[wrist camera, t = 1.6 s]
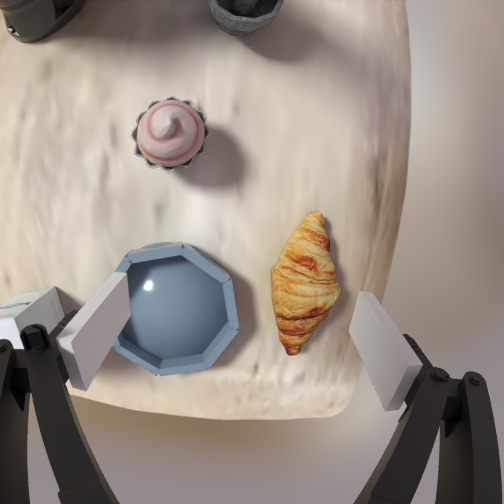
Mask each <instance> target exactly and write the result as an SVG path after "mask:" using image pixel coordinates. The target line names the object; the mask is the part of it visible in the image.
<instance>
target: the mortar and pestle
mask: <svg viewBox="0 0 504 504" xmlns="http://www.w3.org/2000/svg"><path fill="white" fill-rule="evenodd" d="M283 2H284V1H283V0H208V5H209V8H210V11H211V14H212V17H213V19H214V20H216V21H217V22H218V25H219V28H221V29H222V30H224V31H225V32H227V33H228V34H230V35H240V36H244V35H246V34H249V33H251V32H254V31H255V30H256V29H259V28H261V27H264V26H266V25H269V24H270V23H271V22H272V21H273V20H274V19H275V17H276V15H277V13H278V11H279V9H280V7H281V6H282V4H283Z"/></svg>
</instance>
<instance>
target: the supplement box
mask: <svg viewBox="0 0 504 504" xmlns="http://www.w3.org/2000/svg"><path fill="white" fill-rule="evenodd" d="M64 317H65V315H64V312H63V309H62V306H61V302H60V299H59V296H58V293H57V290H56V287H55V286H54V287H50V288H46V289H42V290H37V291H31V292H25V293H20V294H19V295H17V296H16V297H14V298H13V299H11V300H10V301H8V302H7V303H5V304H4V305H2V306H1V307H0V339H8V340H9V341H11V343H12V345H13V347H14V349H24V347H23V344H22V342H21V339H20V336H19V335H20V332H21V330H22V329H23V328H25V327H26V326H28V325H31V324H42V325H43V326H45V328H46V329H47V333H48V335H49V334H50V332H51V331H52V330H53V329H54V328H55V327H56V326H57V324H58V323H59V322H60V321H61V320H62V319H63V318H64Z"/></svg>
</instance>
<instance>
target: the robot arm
mask: <svg viewBox="0 0 504 504" xmlns="http://www.w3.org/2000/svg"><path fill="white" fill-rule="evenodd" d="M85 1H86V0H0V9H1V10H2V12H3V16H4V19H5V23H6V27H7V30H8V32H9V33H10V34H11V35H12V36H13V37H14V38H15V39H16V40H18V41H20V42H33V41H37V40H40V39H42V38H45V37H47V36H49V35H51V34H52V33H54V32H56V31H57V30H59V29H60V28H61V27H63V26H64V25H65V24H66V23H68V22H69V21H70V20H71V19H72V18H73V17H74V16H75V15H76V14H77V13H78V11H79V10H80V9H81V7H82V6H83V4H84V3H85ZM130 316H131V310H130V301H129V291H128V281H127V273H122V272H114V273H113V274H112V275H111V276H110V277H109V278H108V279H107V281H106V282H105V283H104V284H103V285H102V286H101V287H100V288H99V289H98V290H97V291H96V293H95V294H94V295H93V296H92V297H91V298H90V299H89V300H88V301H87V303H86V304H85V305H84V306H83V307H82V308H81V309H80V310H79V311H77V310H73V311H72V312H70V313H68V314H66V316H65V317H64V318H63V319H62V320H61V321H60V322H59V323H58V324H57V326H56V327H55V328H54V329H53V330H52V331H51V332H50V334H49V335H48V333H47V329H46V328H45V326H43V325H42V324H31V325H28V326H26V327H25V328H23V329H22V330H21V332H20V335H19V336H20V339H21V342H22V344H23V347H24V349H14V347H13V345H12V343H11V341H9V340H8V339H0V504H30V499H29V487H28V470H27V433H28V412H29V400H30V393H32V398H33V403H34V407H35V412H36V416H37V420H38V424H39V428H40V432H41V435H42V439H43V442H44V446H45V449H46V452H47V455H48V458H49V461H50V464H51V467H52V470H53V473H54V476H55V478H56V481H57V483H58V486H59V489H60V491H59V492H58V497H59V499H60V502H61V504H120V503H119V502H118V500H117V498H116V497H115V495H114V493H113V491H112V490H111V488H110V486H109V484H108V482H107V481H106V479H105V477H104V475H103V473H102V471H101V469H100V467H99V465H98V463H97V461H96V459H95V457H94V455H93V453H92V450H91V448H90V446H89V444H88V442H87V439H86V437H85V435H84V432H83V430H82V428H81V425H80V423H79V420H78V417H77V415H76V412H75V410H74V407H73V404H72V401H71V398H70V396H69V393H68V390H67V387H66V384H65V383H66V382H67V380H68V379H69V380H70V382H71V385H72V387H74V388H77V389H80V390H84V391H87V389H88V388H89V386H90V384H91V382H92V380H93V379H94V377H95V375H96V373H97V371H98V370H99V368H100V366H101V364H102V363H103V361H104V359H105V357H106V356H107V354H108V352H109V351H110V349H111V347H112V346H113V344H114V342H115V340H116V339H117V337H118V335H119V334H120V332H121V331H122V329H123V327H124V326H125V324H126V322H127V321H128V319H129V317H130ZM349 333H350V335H351V337H352V339H353V342H354V344H355V346H356V348H357V350H358V352H359V354H360V356H361V359H362V361H363V363H364V365H365V367H366V370H367V372H368V374H369V376H370V378H371V380H372V383H373V385H374V387H375V390H376V392H377V394H378V396H379V399H380V401H381V403H382V406H383V408H384V410H385V411H391V410H398V409H399V408H400V407H401V405H402V403H403V401H405V403H406V405H407V408H406V409H405V411H404V413H403V414H402V416H401V417H400V419H399V421H398V422H399V424H398V426H397V428H396V430H395V432H394V434H393V437H392V438H391V440H390V442H389V444H388V446H387V448H386V450H385V452H384V454H383V456H382V457H381V459H380V461H379V463H378V465H377V466H376V468H375V470H374V471H373V473H372V475H371V477H370V478H369V480H368V482H367V483H366V485H365V486H364V488H363V490H362V491H361V493H360V494H359V496H358V497H357V499H356V500H355V502H354V503H353V504H410V503H411V501H412V498H413V496H414V494H415V492H416V490H417V487H418V485H419V483H420V480H421V477H422V475H423V473H424V470H425V468H426V465H427V462H428V459H429V457H430V454H431V451H432V448H433V445H434V442H435V439H436V436H437V433H438V429H439V426H440V452H439V471H438V483H437V493H436V502H435V504H502V483H501V469H500V458H499V449H498V442H497V435H496V429H495V423H494V417H493V412H492V407H491V402H490V397H489V393H488V389H487V385H486V381H485V379H484V378H483V377H482V376H481V375H480V374H479V373H476V372H471V371H469V372H466V373H465V375H464V376H463V378H462V380H461V379H452V378H450V376H449V374H448V373H447V372H446V371H445V370H443V369H441V368H437V367H433V366H432V365H431V363H430V362H429V360H428V359H427V357H426V356H425V355H424V353H423V352H422V350H421V349H420V348H419V347H418V345H417V343H416V342H415V340H414V339H412V338H411V337H410V336H409V335H407V334H402V333H401V332H400V330H399V329H398V328H397V326H396V325H395V323H394V322H393V321H392V319H391V318H390V316H389V315H388V314H387V312H386V311H385V310H384V308H383V307H382V305H381V304H380V303H379V301H378V300H377V299H376V297H375V296H374V295H373V293H372V292H369V291H359V295H358V299H357V303H356V306H355V310H354V314H353V317H352V321H351V324H350V328H349Z"/></svg>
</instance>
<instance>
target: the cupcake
mask: <svg viewBox="0 0 504 504" xmlns="http://www.w3.org/2000/svg"><path fill="white" fill-rule="evenodd" d="M206 118H207V113H205V112H203V111H200V110H197V109H196V107H195V104H194V102H193V101H192V100H184V101H180V100H179V99H178V98H177V97H175V96H170V97H168V98H167V99H166V100H164V101H153V102H152V103H151V104H150V105H149V107H148V109H147V111H144V112H142V113H140V114H139V115H138V117H137V119H136V122H137V126H136V128H135V129H134V130H133V131H132V133H131V137H132V139H133V140H134V141H135V143H136V146H135V150H134V155H136V156H138V157H141V158H145V162H146V165H147V166H148V167H149V168H153V169H154V168H158V167H161V168H162V169H163V170H164V171H165V172H167V173H171V172H173V171H174V170H175V169H176V168H177V167H178V166H179V167H184V168H190V167H191V166H192V163H193V160H194V158H195V157H197V156H200V155H203V154H204V153H206V148H205V142H204V141H205V140H206V139H207V138H208V137H209V136H210V135H211V131H210V129H209V128H208V127H207V126H206V125H205V122H206Z"/></svg>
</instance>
